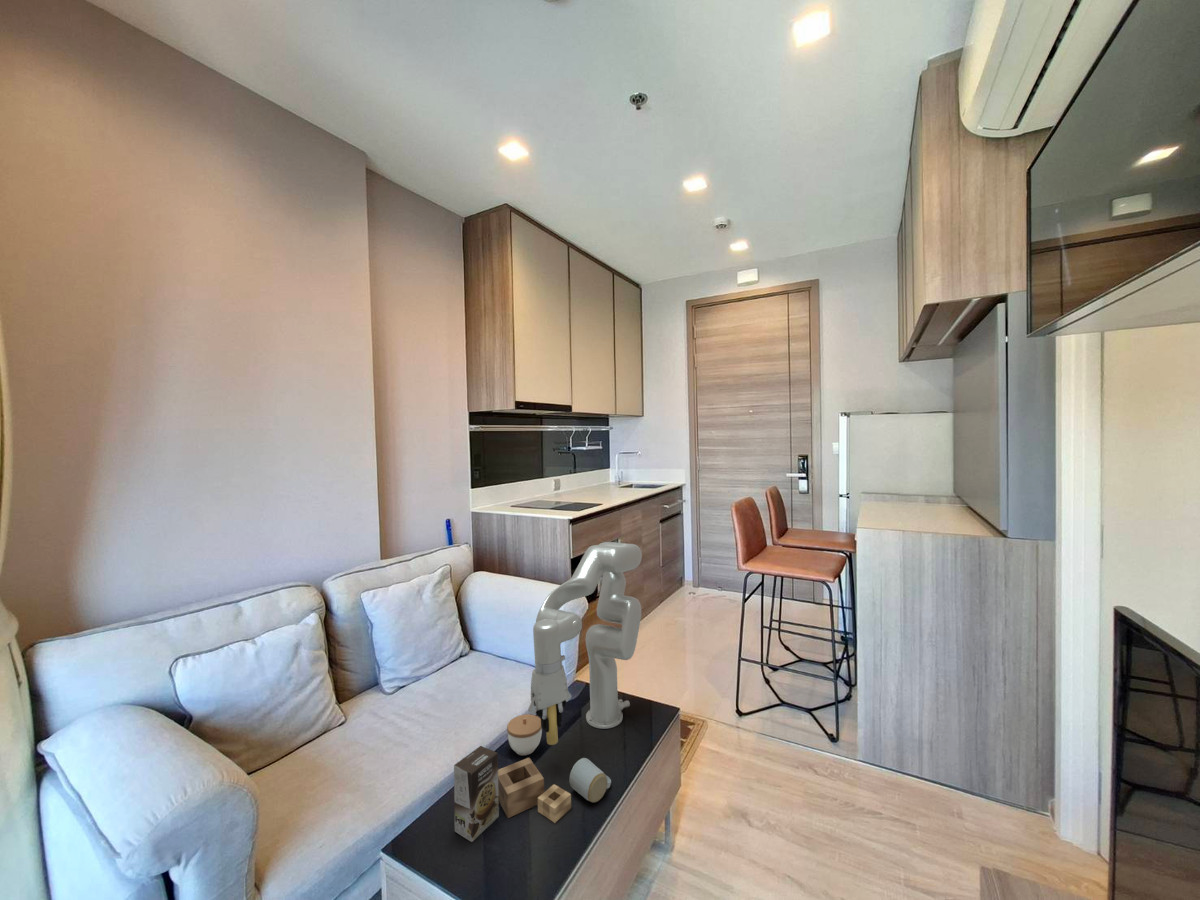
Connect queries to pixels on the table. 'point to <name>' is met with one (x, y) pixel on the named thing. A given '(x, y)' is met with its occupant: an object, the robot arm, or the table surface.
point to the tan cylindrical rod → (552, 725)
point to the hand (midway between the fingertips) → (551, 726)
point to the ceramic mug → (589, 780)
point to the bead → (519, 787)
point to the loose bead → (554, 803)
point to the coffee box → (476, 792)
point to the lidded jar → (524, 733)
